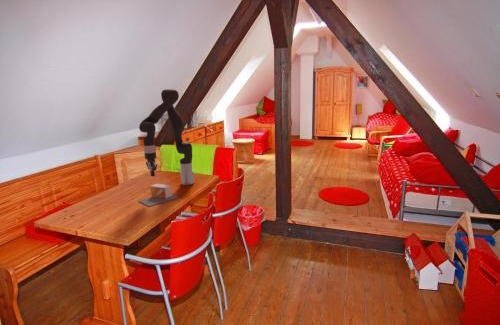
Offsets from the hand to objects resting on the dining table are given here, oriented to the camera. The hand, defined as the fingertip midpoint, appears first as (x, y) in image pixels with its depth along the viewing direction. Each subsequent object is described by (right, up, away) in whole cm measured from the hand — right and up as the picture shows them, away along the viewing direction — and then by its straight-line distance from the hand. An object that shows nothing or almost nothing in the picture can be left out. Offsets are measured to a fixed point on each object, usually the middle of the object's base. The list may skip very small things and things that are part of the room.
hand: (152, 176), depth 210 cm
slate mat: (+4, -16, 0) cm, 17 cm away
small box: (-1, -10, +6) cm, 12 cm away
